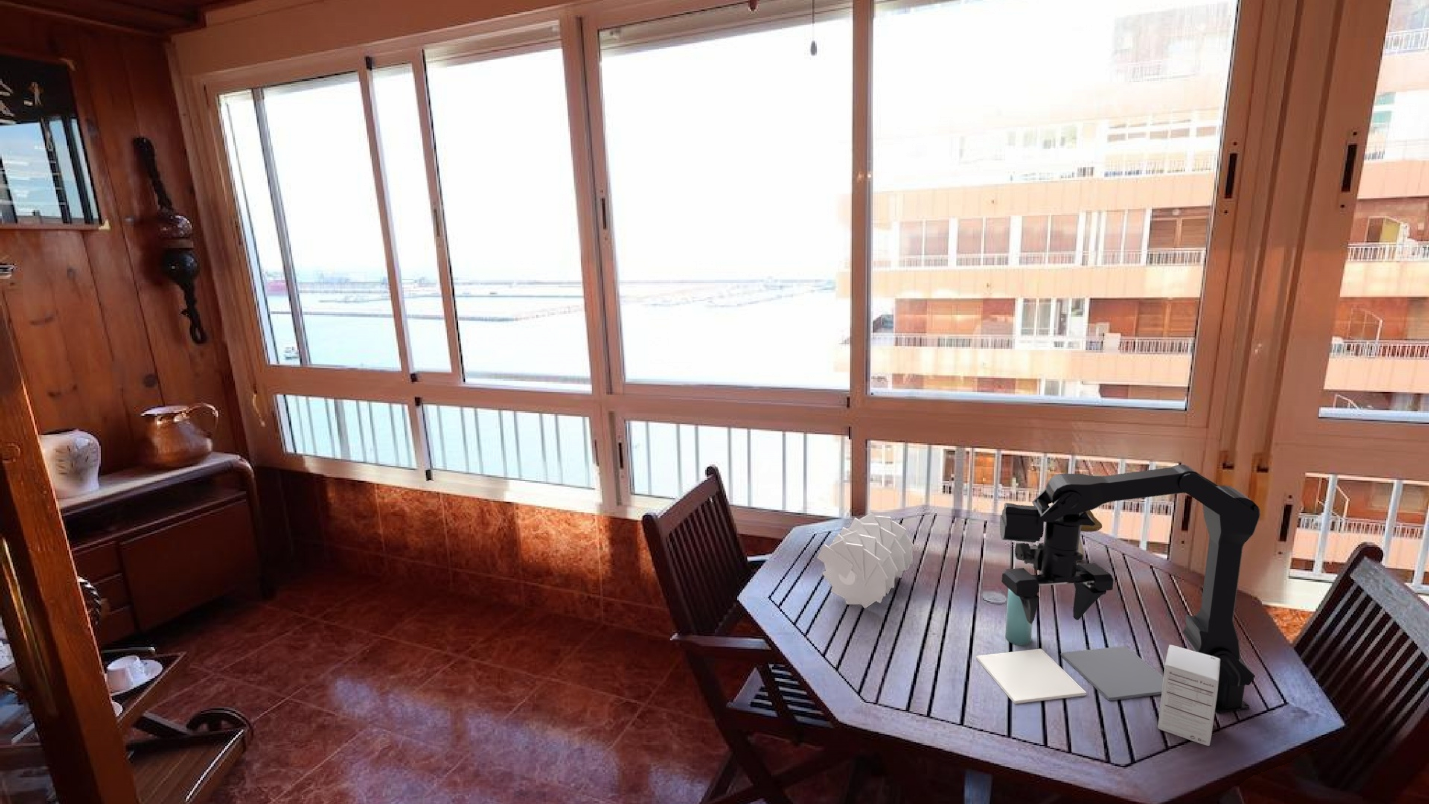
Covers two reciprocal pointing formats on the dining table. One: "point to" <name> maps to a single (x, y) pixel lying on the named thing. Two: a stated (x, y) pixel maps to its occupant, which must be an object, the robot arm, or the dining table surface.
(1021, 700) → the pale tile
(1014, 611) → the teal cylinder
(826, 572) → the spiral staircase
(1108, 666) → the slate tile
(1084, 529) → the mushroom
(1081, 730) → the dining table surface
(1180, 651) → the supplement box
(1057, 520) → the robot arm
